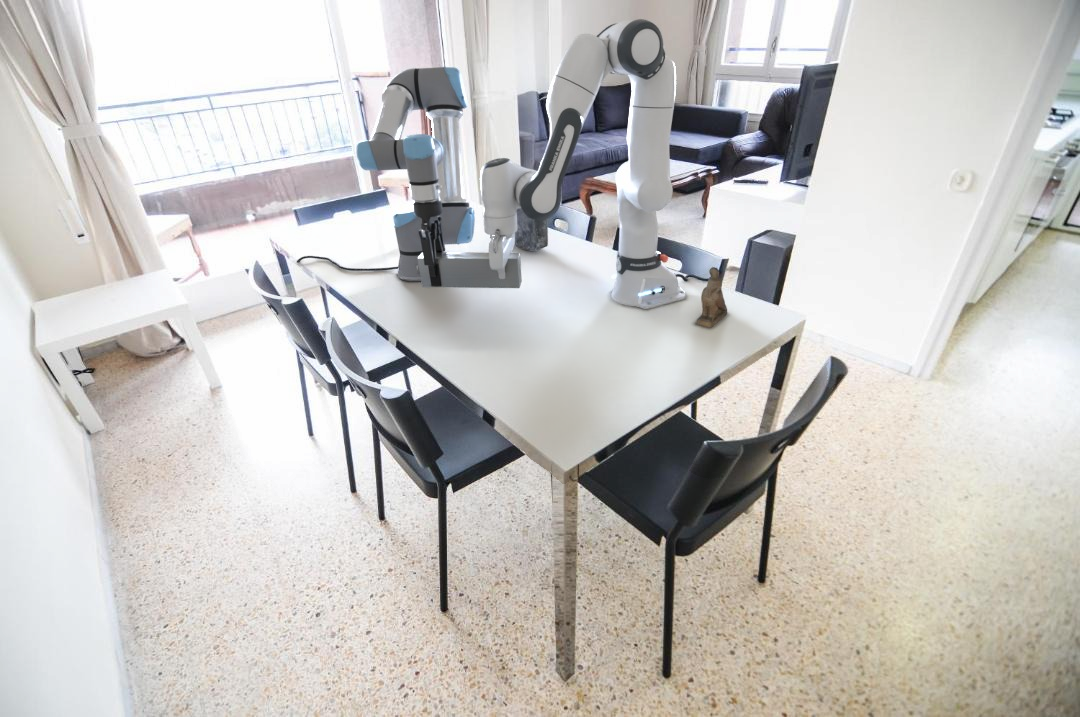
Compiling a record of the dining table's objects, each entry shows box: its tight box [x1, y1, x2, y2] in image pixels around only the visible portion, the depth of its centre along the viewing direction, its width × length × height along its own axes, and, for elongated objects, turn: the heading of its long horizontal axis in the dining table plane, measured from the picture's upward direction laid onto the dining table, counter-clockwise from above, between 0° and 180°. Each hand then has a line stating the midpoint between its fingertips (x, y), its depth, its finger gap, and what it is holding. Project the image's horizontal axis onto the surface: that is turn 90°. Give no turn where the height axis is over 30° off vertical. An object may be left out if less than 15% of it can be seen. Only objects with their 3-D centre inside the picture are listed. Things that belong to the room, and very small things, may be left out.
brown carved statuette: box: [695, 266, 728, 328], centre depth 135 cm, size 12×6×18 cm, turn 136°
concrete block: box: [514, 208, 549, 252], centre depth 191 cm, size 27×9×20 cm, turn 36°
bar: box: [417, 251, 523, 289], centre depth 139 cm, size 28×5×9 cm, turn 84°
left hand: (439, 282), depth 142 cm, fingers closed on bar, 5 cm apart
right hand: (504, 273), depth 139 cm, fingers closed on bar, 5 cm apart
